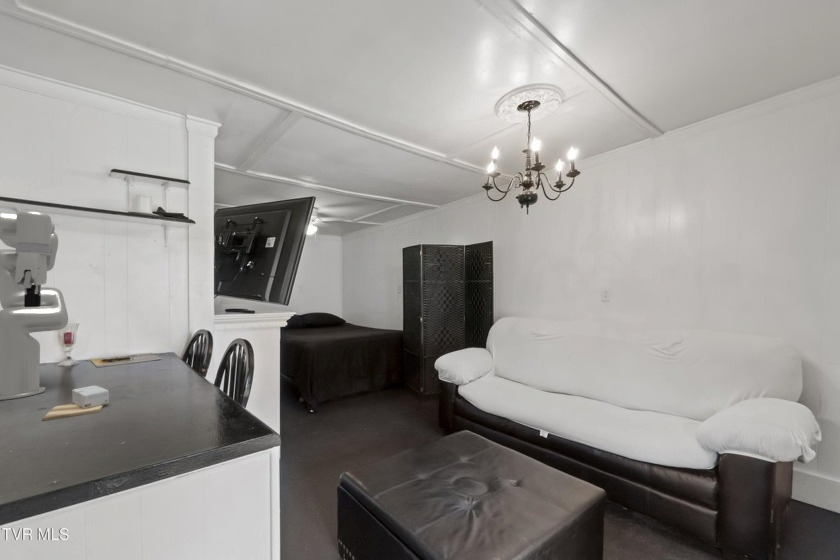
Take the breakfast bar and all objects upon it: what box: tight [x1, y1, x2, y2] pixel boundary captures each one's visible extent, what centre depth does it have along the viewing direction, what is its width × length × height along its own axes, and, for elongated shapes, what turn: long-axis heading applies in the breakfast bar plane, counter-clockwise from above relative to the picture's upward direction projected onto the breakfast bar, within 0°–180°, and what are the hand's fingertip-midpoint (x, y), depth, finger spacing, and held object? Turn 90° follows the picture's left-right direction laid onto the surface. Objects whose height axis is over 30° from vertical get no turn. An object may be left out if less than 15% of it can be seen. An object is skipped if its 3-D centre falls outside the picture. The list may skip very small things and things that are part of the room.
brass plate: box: [41, 402, 105, 422], centre depth 105 cm, size 13×12×1 cm
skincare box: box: [71, 385, 110, 409], centre depth 109 cm, size 6×4×12 cm
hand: (32, 306), depth 110 cm, fingers closed
